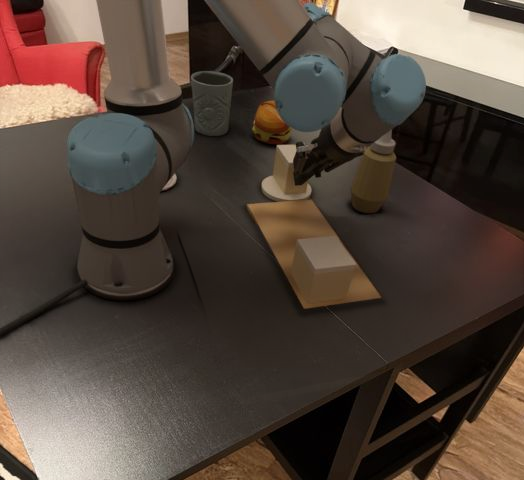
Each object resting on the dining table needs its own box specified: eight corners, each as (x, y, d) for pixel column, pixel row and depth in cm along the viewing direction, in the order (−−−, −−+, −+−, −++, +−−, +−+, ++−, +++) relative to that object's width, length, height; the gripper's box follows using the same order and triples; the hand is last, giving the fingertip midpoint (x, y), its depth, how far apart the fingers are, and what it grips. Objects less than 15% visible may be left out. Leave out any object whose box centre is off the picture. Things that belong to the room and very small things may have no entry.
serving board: (380, 302, 82) (381, 297, 81) (302, 313, 78) (304, 308, 77) (310, 203, 102) (311, 199, 101) (246, 208, 98) (246, 203, 97)
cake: (346, 298, 80) (356, 264, 75) (307, 303, 78) (315, 269, 73) (327, 269, 85) (335, 235, 80) (290, 273, 83) (297, 239, 78)
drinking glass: (207, 140, 118) (208, 87, 109) (183, 125, 123) (182, 73, 114) (238, 132, 123) (241, 81, 114) (214, 117, 128) (215, 68, 119)
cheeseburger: (292, 131, 127) (298, 95, 118) (288, 158, 121) (294, 122, 113) (254, 125, 126) (257, 89, 118) (248, 151, 121) (251, 115, 112)
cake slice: (306, 193, 103) (311, 161, 98) (284, 194, 101) (288, 162, 96) (293, 175, 108) (298, 144, 103) (272, 176, 107) (276, 145, 101)
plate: (288, 209, 99) (289, 205, 99) (250, 187, 104) (251, 183, 103) (320, 193, 105) (321, 189, 105) (283, 173, 110) (284, 169, 109)
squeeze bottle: (355, 218, 100) (379, 130, 87) (340, 198, 105) (361, 112, 92) (389, 216, 102) (418, 130, 89) (373, 196, 107) (398, 113, 94)
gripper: (315, 156, 74) (270, 199, 97) (389, 153, 78) (328, 195, 100) (309, 107, 74) (264, 161, 96) (383, 106, 77) (323, 159, 100)
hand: (297, 178), depth 98 cm, fingers closed
